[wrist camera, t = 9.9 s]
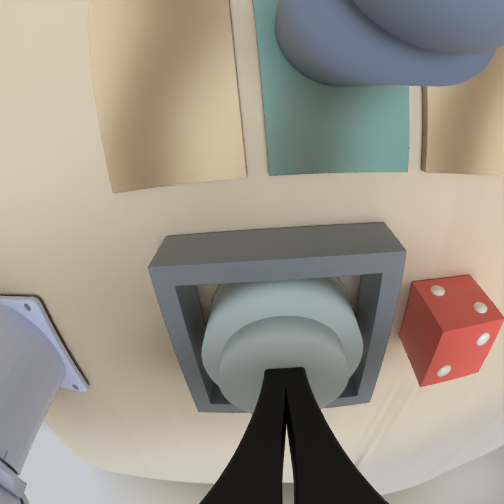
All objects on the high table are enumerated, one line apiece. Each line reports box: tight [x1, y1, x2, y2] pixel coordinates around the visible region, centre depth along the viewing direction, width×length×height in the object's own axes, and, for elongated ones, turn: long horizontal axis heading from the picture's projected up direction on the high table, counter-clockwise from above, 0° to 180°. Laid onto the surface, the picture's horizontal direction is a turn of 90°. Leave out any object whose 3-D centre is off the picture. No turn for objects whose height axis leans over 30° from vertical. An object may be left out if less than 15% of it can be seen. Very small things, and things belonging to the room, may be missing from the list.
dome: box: [202, 277, 363, 414], centre depth 12 cm, size 6×6×4 cm
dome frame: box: [148, 222, 406, 413], centre depth 13 cm, size 9×9×2 cm
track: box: [88, 0, 504, 193], centre depth 8 cm, size 17×10×1 cm, turn 95°
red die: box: [399, 275, 504, 387], centre depth 12 cm, size 4×4×4 cm
